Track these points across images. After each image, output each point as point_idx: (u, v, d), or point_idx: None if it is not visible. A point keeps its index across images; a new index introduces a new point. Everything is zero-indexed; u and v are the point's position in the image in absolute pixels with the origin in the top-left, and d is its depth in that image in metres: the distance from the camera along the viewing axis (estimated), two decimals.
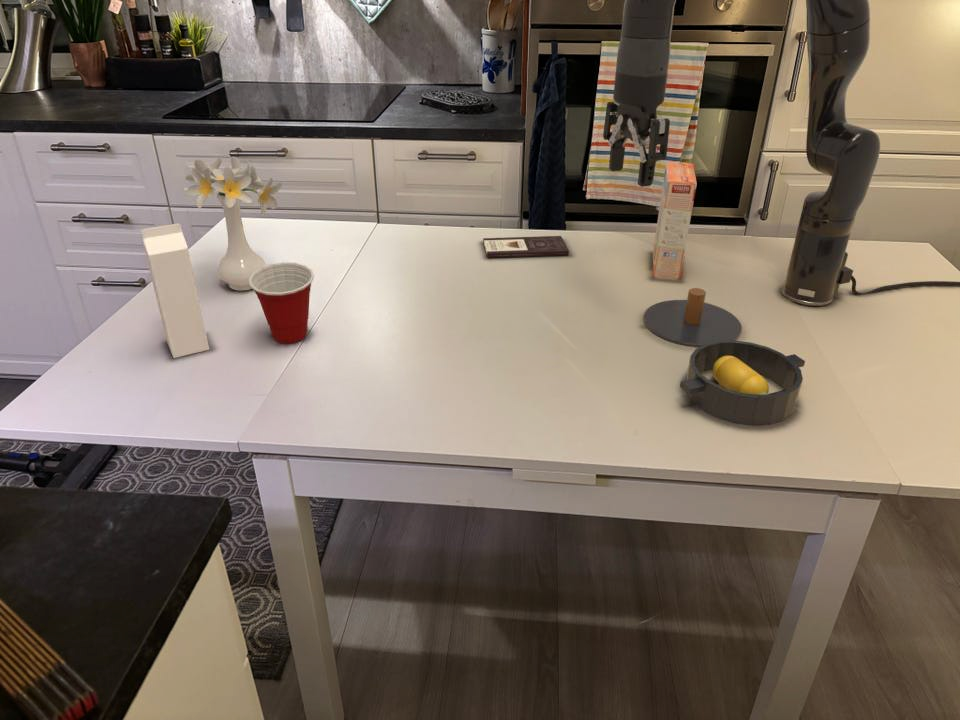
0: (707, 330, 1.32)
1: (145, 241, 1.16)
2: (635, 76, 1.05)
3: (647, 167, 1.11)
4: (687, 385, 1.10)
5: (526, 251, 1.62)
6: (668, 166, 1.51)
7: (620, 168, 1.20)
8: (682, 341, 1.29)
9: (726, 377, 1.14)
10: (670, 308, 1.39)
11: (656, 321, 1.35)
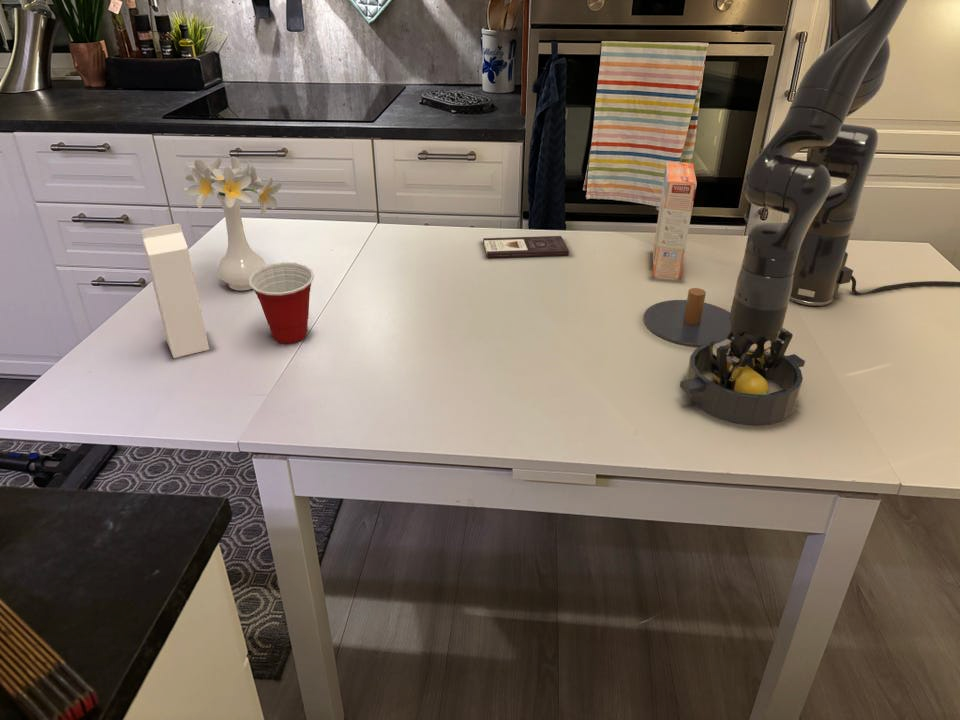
0: (707, 330, 1.32)
1: (145, 241, 1.16)
2: (734, 293, 1.08)
3: (720, 379, 1.13)
4: (687, 385, 1.10)
5: (526, 251, 1.62)
6: (668, 166, 1.51)
7: None
8: (682, 341, 1.29)
9: None
10: (670, 308, 1.39)
11: (656, 321, 1.35)
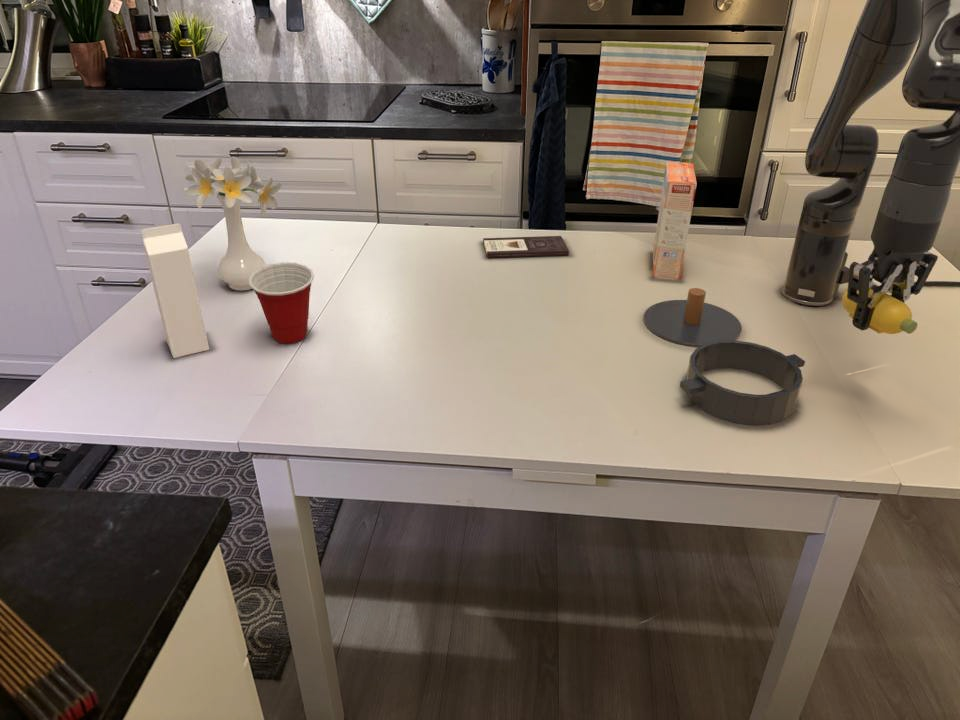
0: (707, 330, 1.32)
1: (145, 241, 1.16)
2: None
3: (857, 307, 1.04)
4: (687, 385, 1.10)
5: (526, 251, 1.62)
6: (668, 166, 1.51)
7: None
8: (682, 341, 1.29)
9: None
10: (670, 308, 1.39)
11: (656, 321, 1.35)
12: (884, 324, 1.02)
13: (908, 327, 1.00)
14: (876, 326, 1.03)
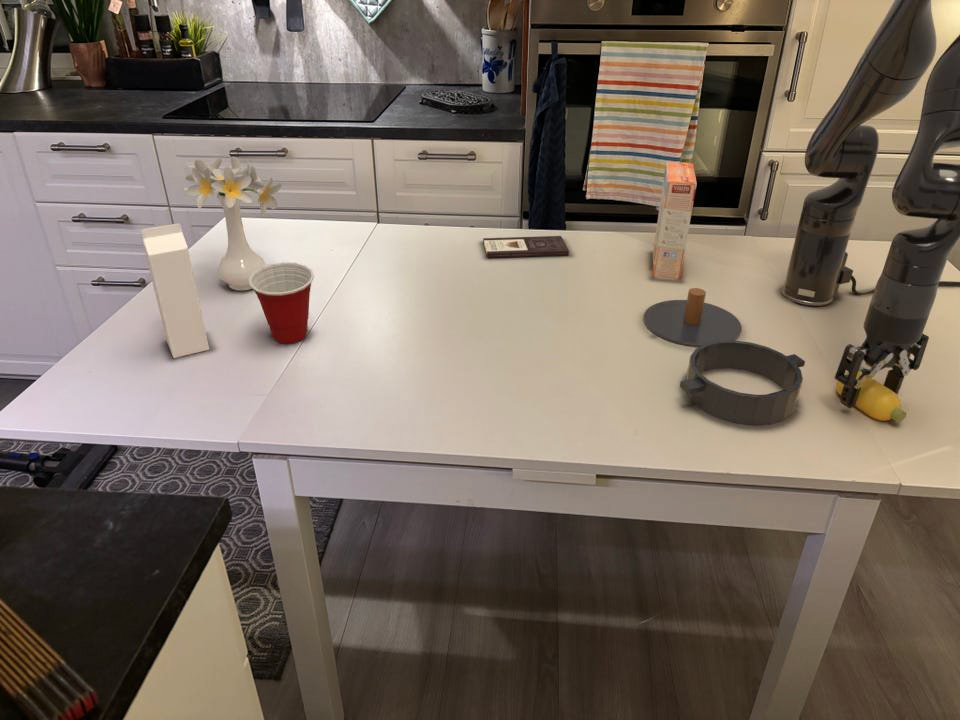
0: (707, 330, 1.32)
1: (145, 241, 1.16)
2: None
3: (844, 387, 1.10)
4: (687, 385, 1.10)
5: (526, 251, 1.62)
6: (668, 166, 1.51)
7: None
8: (682, 341, 1.29)
9: None
10: (670, 308, 1.39)
11: (656, 321, 1.35)
12: (875, 412, 1.09)
13: (897, 416, 1.07)
14: (868, 413, 1.10)
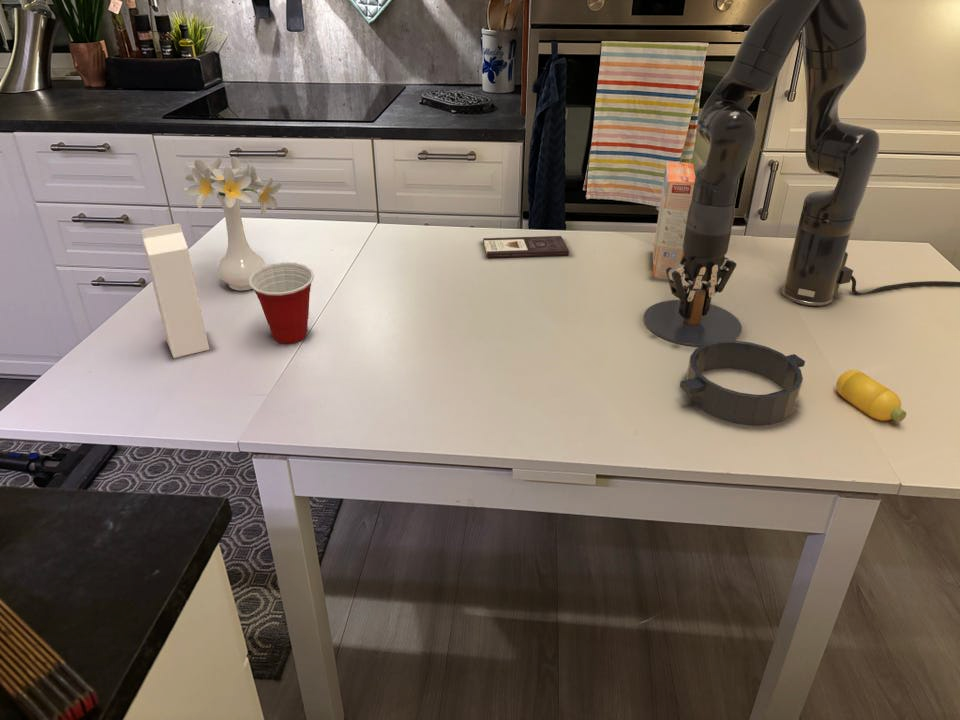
0: (707, 330, 1.32)
1: (145, 241, 1.16)
2: None
3: (680, 301, 1.32)
4: (687, 385, 1.10)
5: (526, 251, 1.62)
6: (668, 166, 1.51)
7: (702, 314, 1.34)
8: (682, 341, 1.29)
9: (854, 392, 1.12)
10: (670, 308, 1.39)
11: (656, 321, 1.35)
12: (875, 412, 1.09)
13: (897, 417, 1.07)
14: (868, 413, 1.10)
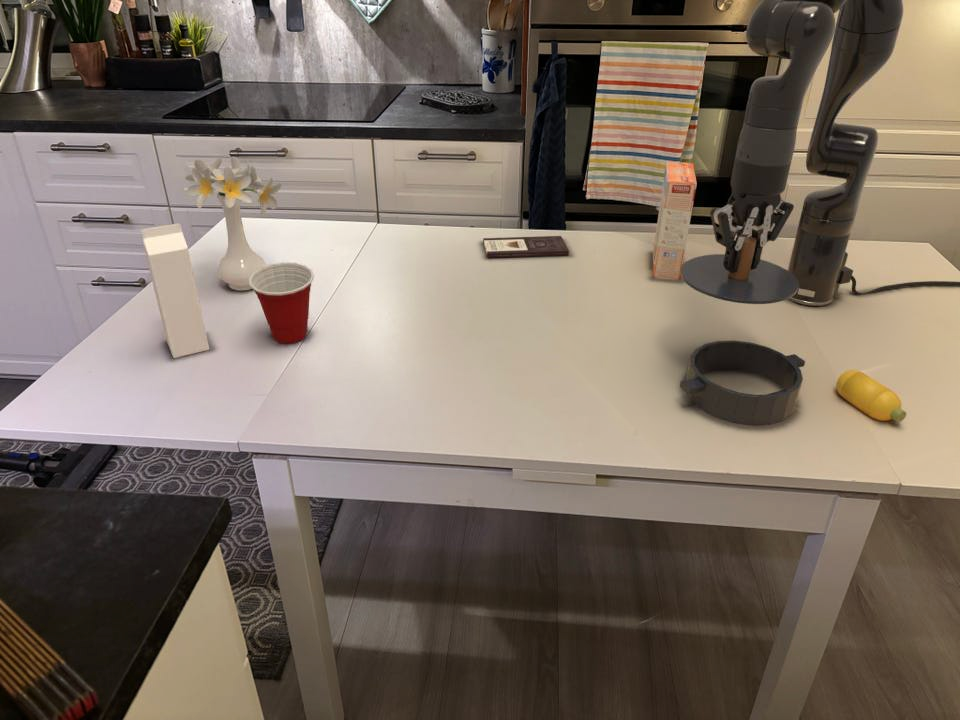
0: (758, 285, 1.11)
1: (145, 241, 1.16)
2: None
3: (726, 250, 1.11)
4: (687, 385, 1.10)
5: (526, 251, 1.62)
6: (668, 166, 1.51)
7: (751, 267, 1.13)
8: (729, 297, 1.07)
9: (854, 392, 1.12)
10: (711, 262, 1.18)
11: (695, 275, 1.14)
12: (875, 412, 1.09)
13: (897, 417, 1.07)
14: (868, 413, 1.10)
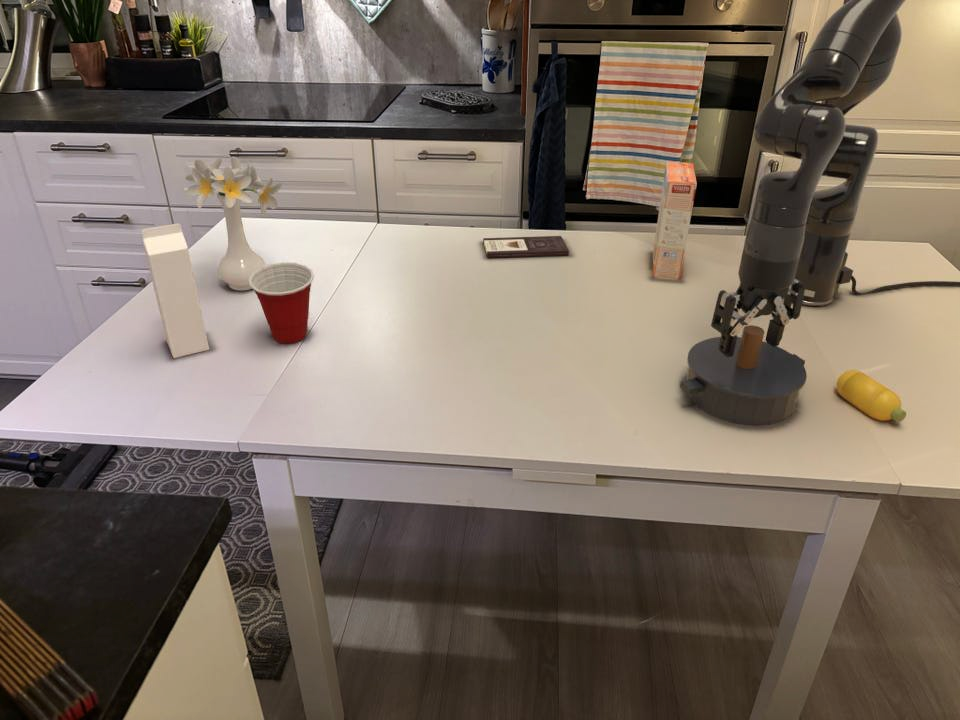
0: (766, 376, 1.10)
1: (145, 241, 1.16)
2: None
3: (721, 335, 1.09)
4: (687, 385, 1.10)
5: (526, 251, 1.62)
6: (668, 166, 1.51)
7: (773, 344, 1.12)
8: (737, 391, 1.06)
9: (854, 392, 1.12)
10: (718, 347, 1.17)
11: (703, 364, 1.13)
12: (875, 412, 1.09)
13: (897, 417, 1.07)
14: (868, 413, 1.10)
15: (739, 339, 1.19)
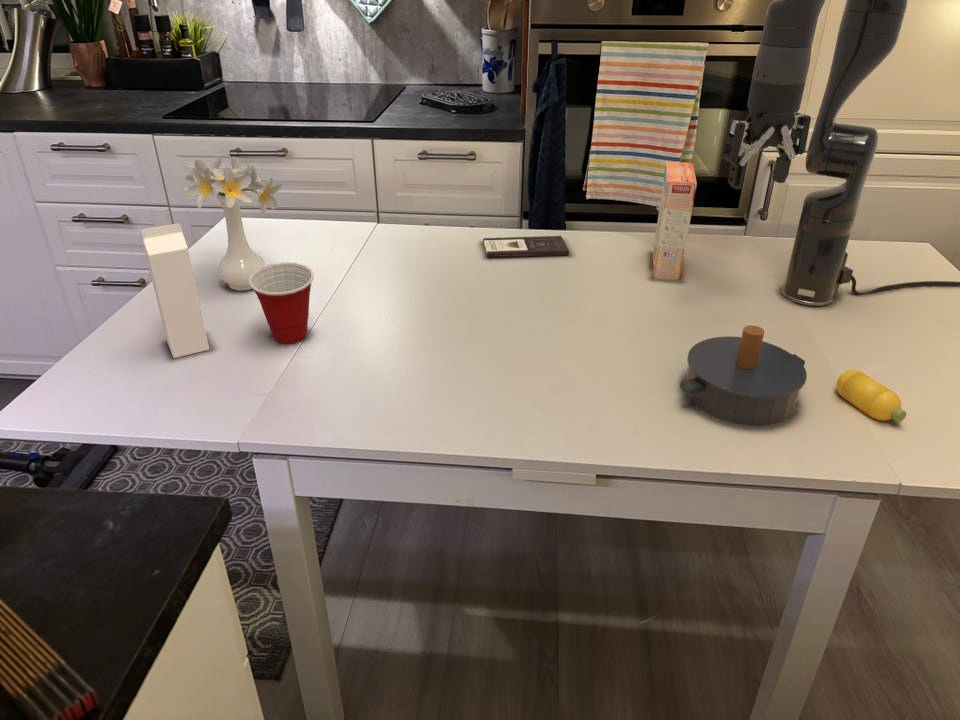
0: (766, 376, 1.10)
1: (145, 241, 1.16)
2: (752, 77, 1.10)
3: (731, 167, 1.14)
4: (687, 385, 1.10)
5: (526, 251, 1.62)
6: (668, 166, 1.51)
7: (779, 181, 1.18)
8: (737, 391, 1.06)
9: (854, 392, 1.12)
10: (718, 347, 1.17)
11: (703, 364, 1.13)
12: (875, 412, 1.09)
13: (897, 417, 1.07)
14: (868, 413, 1.10)
15: (739, 339, 1.19)
